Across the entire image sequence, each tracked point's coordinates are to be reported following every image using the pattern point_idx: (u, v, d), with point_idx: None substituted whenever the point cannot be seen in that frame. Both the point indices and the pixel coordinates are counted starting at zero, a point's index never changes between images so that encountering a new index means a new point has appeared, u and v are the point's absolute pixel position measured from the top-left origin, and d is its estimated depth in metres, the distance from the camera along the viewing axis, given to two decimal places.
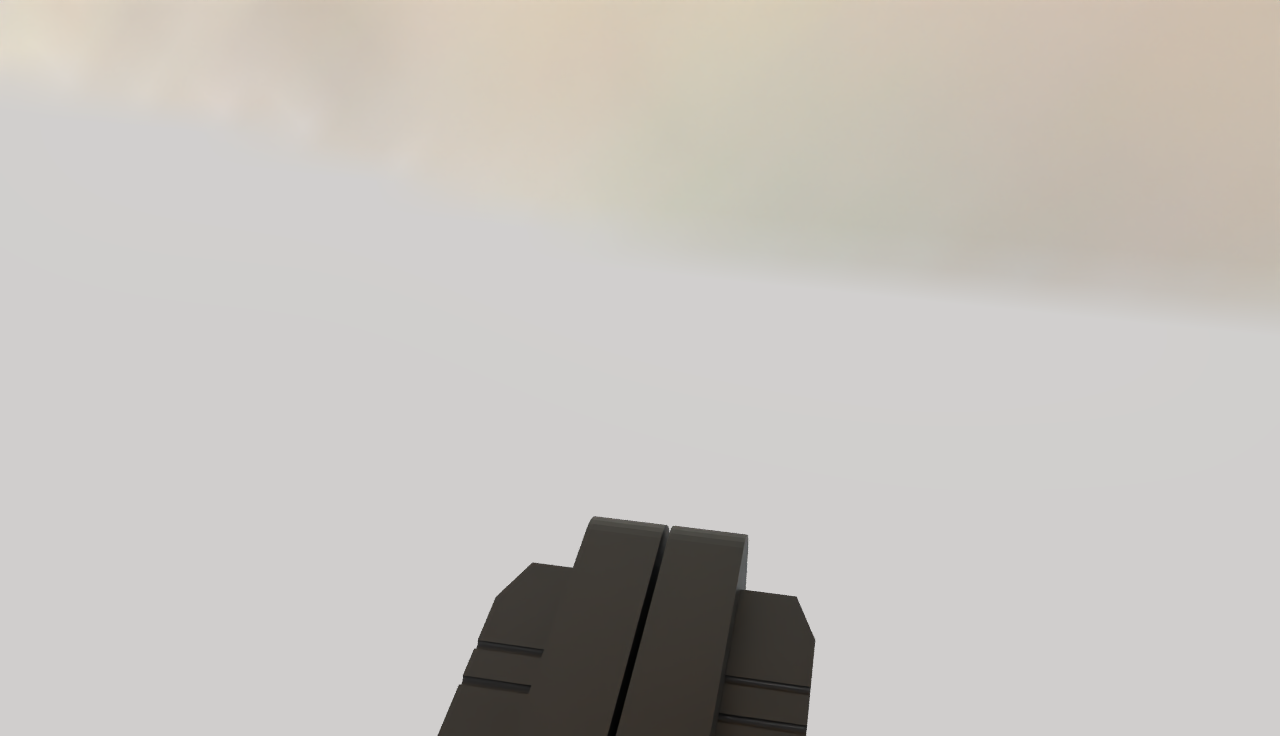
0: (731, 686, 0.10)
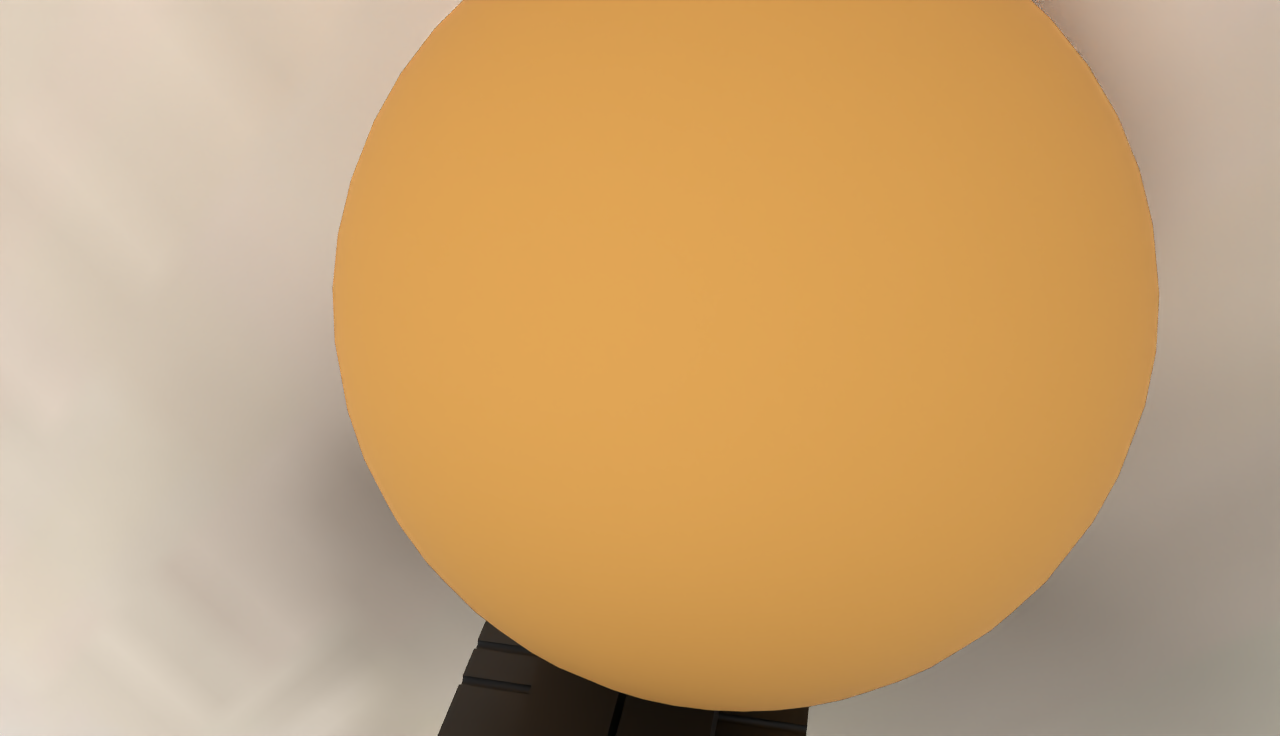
0: None
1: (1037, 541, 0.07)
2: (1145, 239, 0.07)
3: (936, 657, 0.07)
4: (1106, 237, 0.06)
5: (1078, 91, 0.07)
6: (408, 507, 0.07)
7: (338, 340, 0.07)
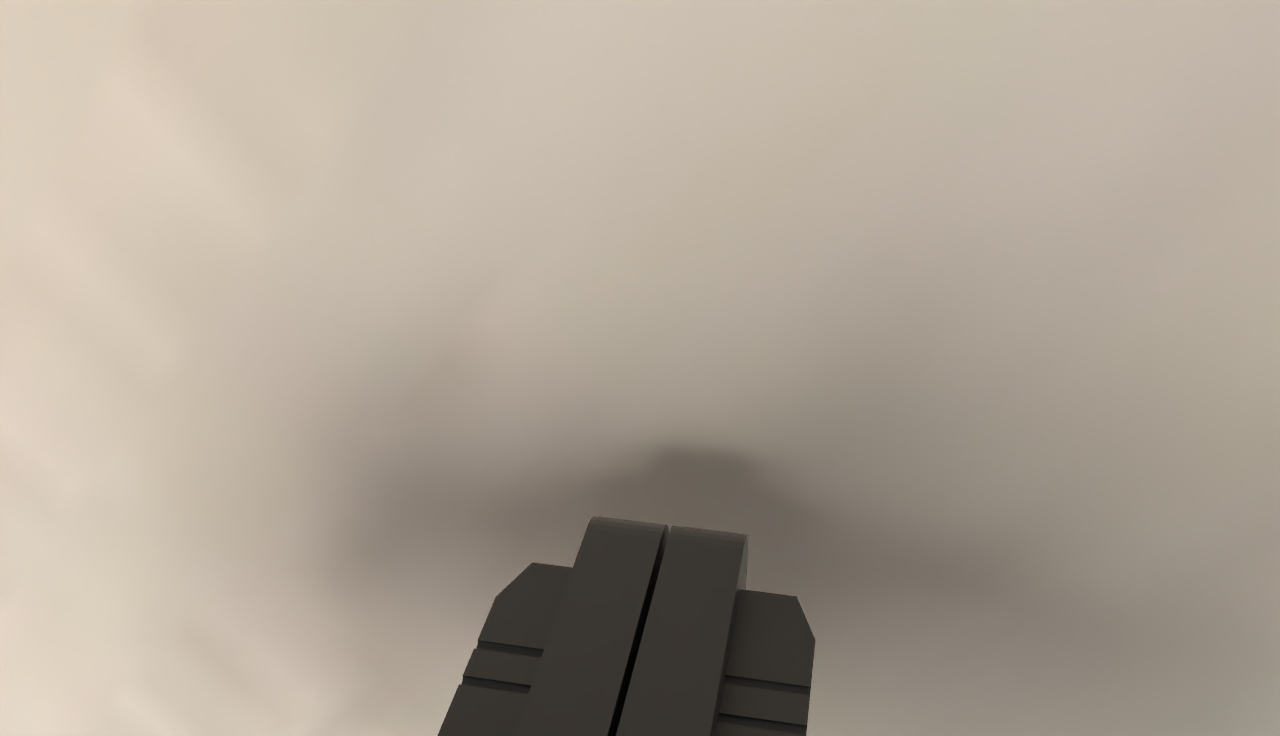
0: (731, 686, 0.10)
1: None
2: None
3: None
4: None
5: None
6: None
7: None
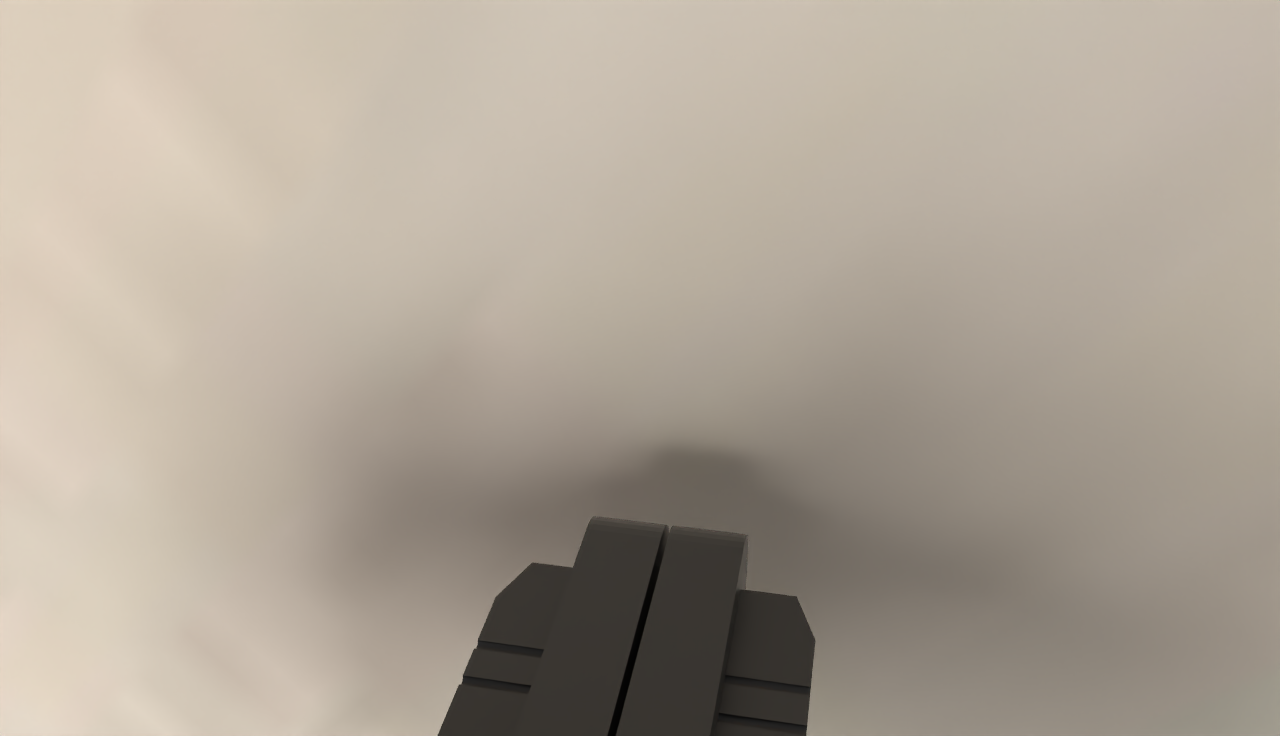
0: (731, 686, 0.10)
1: None
2: None
3: None
4: None
5: None
6: None
7: None
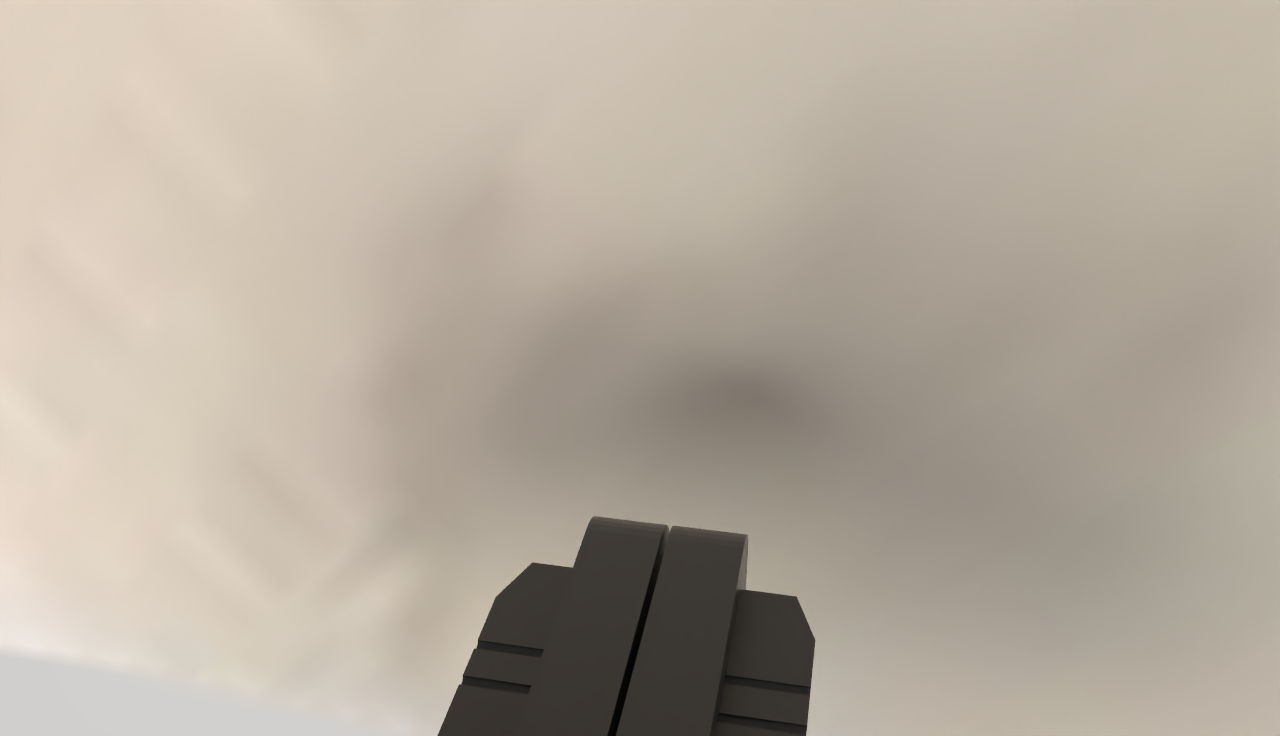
0: (731, 686, 0.10)
1: None
2: None
3: None
4: None
5: None
6: None
7: None
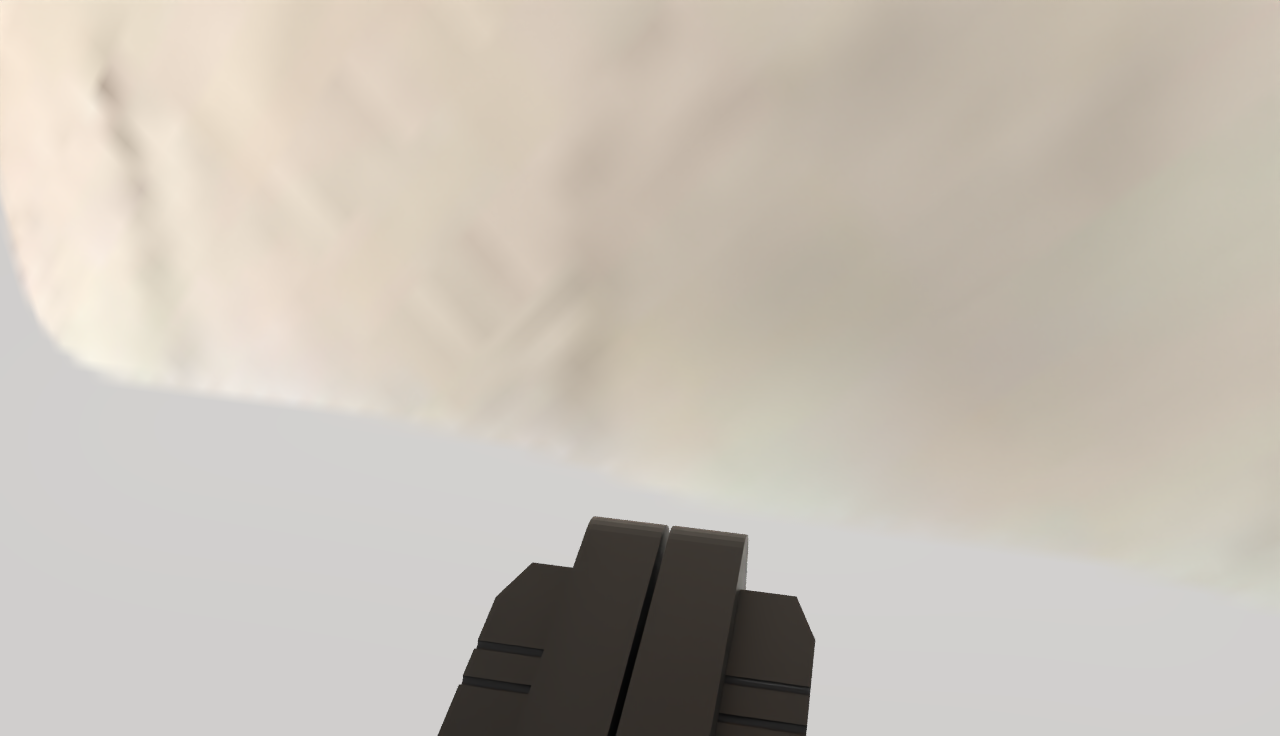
0: (731, 686, 0.10)
1: None
2: None
3: None
4: None
5: None
6: None
7: None
